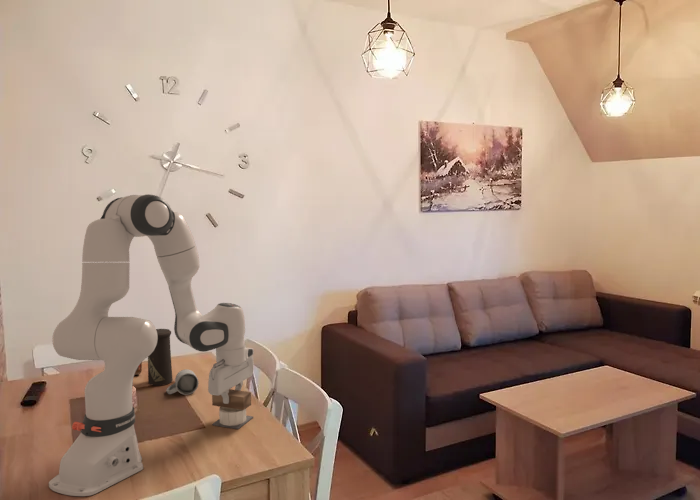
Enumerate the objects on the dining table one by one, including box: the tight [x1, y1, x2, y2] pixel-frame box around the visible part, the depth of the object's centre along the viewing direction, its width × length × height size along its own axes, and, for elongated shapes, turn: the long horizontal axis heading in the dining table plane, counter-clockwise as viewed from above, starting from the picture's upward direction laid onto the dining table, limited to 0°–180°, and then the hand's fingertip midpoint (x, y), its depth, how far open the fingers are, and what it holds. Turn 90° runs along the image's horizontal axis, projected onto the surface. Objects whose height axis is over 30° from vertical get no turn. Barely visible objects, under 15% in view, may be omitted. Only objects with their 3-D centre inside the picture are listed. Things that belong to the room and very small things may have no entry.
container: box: [147, 328, 173, 387], centre depth 205 cm, size 9×9×20 cm
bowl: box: [218, 406, 247, 426], centre depth 170 cm, size 8×8×4 cm
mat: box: [211, 415, 254, 430], centre depth 170 cm, size 9×9×1 cm
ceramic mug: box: [166, 368, 200, 396], centre depth 195 cm, size 11×8×8 cm
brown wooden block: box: [211, 388, 252, 410], centre depth 169 cm, size 4×11×4 cm, turn 70°
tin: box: [134, 361, 143, 376], centre depth 217 cm, size 15×3×8 cm, turn 39°
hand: (232, 399), depth 169 cm, fingers closed on brown wooden block, 4 cm apart
